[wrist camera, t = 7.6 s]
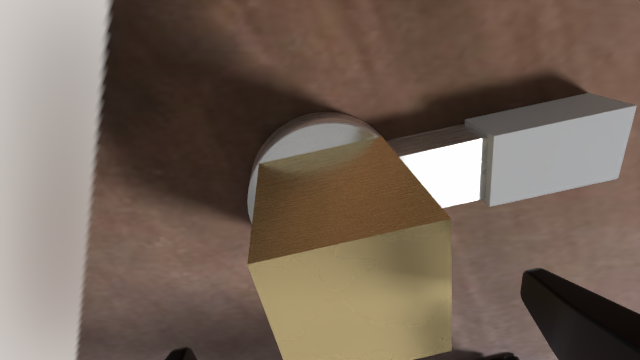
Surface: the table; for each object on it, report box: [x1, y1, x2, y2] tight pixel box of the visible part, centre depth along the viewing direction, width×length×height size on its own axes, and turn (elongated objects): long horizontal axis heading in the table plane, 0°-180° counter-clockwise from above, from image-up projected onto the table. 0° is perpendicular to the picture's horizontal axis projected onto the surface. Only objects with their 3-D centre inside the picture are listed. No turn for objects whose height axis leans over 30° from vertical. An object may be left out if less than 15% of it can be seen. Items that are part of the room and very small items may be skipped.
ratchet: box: [247, 93, 637, 223], centre depth 14 cm, size 16×7×6 cm, turn 100°
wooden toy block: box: [247, 136, 452, 360], centre depth 12 cm, size 5×5×6 cm
